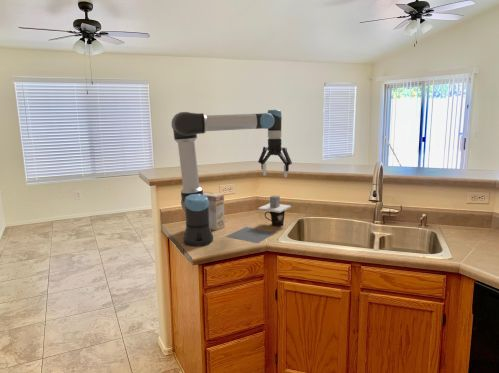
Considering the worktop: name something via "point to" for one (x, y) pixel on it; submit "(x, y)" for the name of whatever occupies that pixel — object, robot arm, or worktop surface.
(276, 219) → the coffee mug
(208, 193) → the coffeecake box
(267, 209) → the lid
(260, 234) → the mat
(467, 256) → the worktop surface
